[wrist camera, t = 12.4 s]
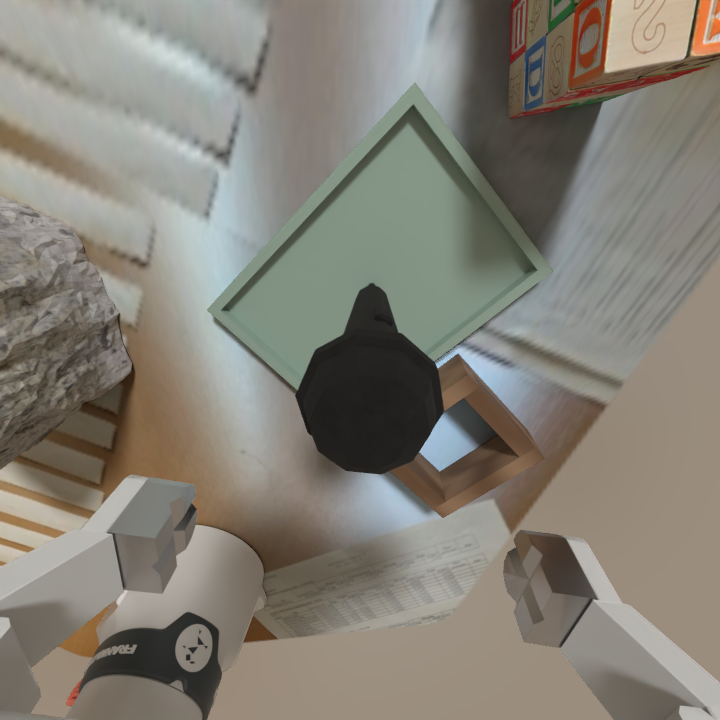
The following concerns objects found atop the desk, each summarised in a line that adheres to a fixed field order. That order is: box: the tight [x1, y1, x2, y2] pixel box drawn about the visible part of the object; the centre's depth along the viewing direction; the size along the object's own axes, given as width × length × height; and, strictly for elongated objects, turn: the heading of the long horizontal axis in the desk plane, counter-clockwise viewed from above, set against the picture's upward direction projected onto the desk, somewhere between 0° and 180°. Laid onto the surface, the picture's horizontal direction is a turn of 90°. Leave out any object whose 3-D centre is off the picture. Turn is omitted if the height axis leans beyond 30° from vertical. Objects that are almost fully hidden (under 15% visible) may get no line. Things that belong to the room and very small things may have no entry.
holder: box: [390, 354, 544, 518], centre depth 34 cm, size 11×11×4 cm
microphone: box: [295, 283, 444, 474], centre depth 21 cm, size 6×6×20 cm
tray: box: [207, 83, 553, 390], centre depth 30 cm, size 22×16×2 cm
